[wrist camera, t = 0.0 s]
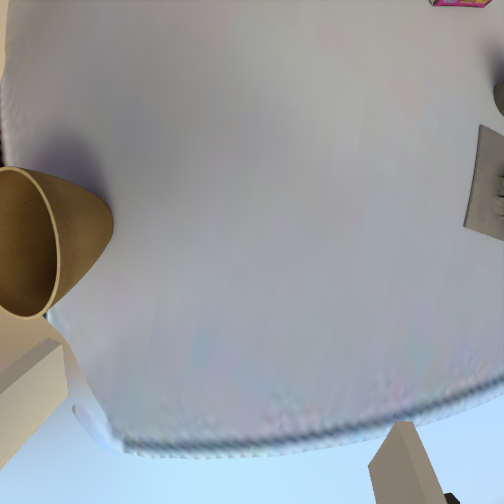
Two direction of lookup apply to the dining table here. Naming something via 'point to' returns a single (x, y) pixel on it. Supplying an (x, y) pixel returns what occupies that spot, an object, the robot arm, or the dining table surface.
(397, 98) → the dining table surface
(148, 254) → the dining table surface
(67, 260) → the plant pot
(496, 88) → the grey tall cylinder
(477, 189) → the well
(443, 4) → the candy bar box
